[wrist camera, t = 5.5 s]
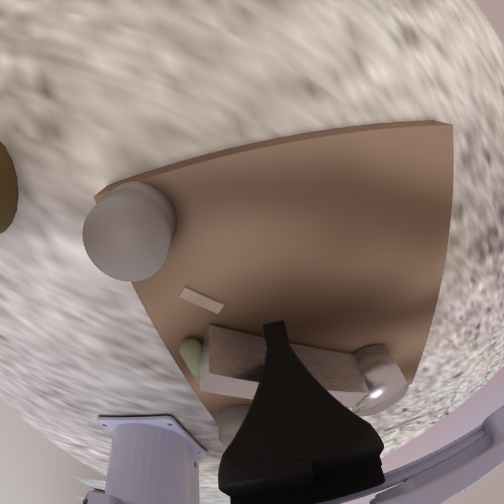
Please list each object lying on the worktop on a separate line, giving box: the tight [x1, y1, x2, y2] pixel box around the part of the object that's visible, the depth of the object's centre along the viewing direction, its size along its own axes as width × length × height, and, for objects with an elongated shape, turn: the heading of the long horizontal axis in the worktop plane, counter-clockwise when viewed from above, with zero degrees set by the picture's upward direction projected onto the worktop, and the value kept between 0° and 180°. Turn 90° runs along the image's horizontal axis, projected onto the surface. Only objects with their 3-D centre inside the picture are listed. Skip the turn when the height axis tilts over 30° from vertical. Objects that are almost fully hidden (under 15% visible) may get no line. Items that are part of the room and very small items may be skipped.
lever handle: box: [200, 325, 408, 416], centre depth 14 cm, size 12×4×3 cm, turn 67°
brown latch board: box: [83, 121, 454, 445], centre depth 15 cm, size 20×16×4 cm
